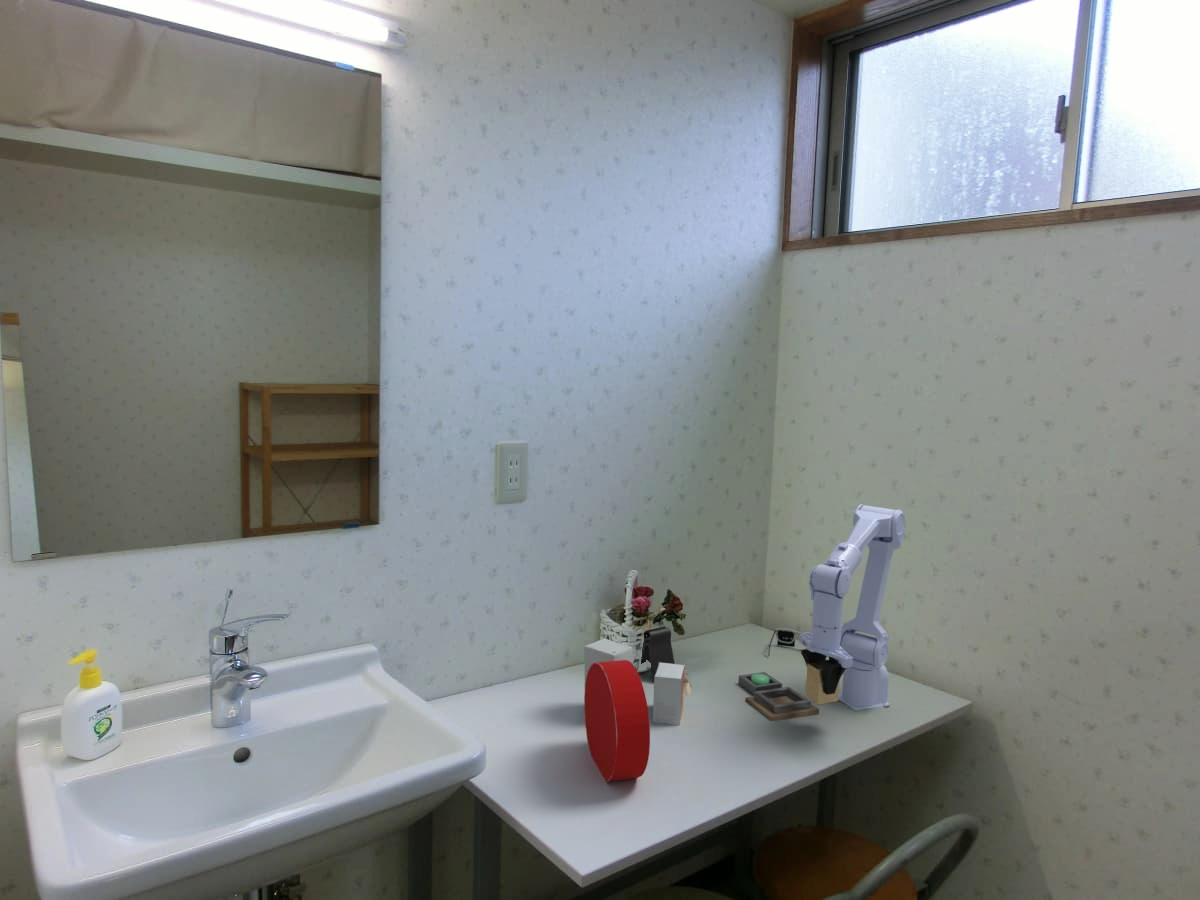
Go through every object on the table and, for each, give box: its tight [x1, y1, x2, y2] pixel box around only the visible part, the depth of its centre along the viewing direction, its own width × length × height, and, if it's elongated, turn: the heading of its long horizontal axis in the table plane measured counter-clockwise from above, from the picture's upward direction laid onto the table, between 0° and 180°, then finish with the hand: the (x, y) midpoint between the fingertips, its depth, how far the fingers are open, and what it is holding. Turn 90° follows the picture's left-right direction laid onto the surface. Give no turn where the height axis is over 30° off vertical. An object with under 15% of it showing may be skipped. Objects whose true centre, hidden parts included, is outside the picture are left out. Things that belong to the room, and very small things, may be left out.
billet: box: [804, 662, 840, 705], centre depth 157 cm, size 5×4×7 cm
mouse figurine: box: [683, 665, 693, 696], centre depth 173 cm, size 5×8×7 cm, turn 40°
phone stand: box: [641, 625, 676, 683], centre depth 180 cm, size 9×6×12 cm, turn 35°
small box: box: [652, 663, 686, 726], centre depth 159 cm, size 8×6×10 cm
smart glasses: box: [767, 627, 811, 657], centre depth 200 cm, size 12×14×5 cm
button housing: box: [737, 671, 783, 696], centre depth 176 cm, size 7×7×2 cm
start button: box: [751, 673, 769, 685], centre depth 176 cm, size 4×4×2 cm
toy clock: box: [583, 660, 651, 783], centre depth 137 cm, size 20×6×20 cm, turn 17°
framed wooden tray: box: [744, 686, 820, 722], centre depth 167 cm, size 12×10×2 cm
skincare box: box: [584, 638, 634, 684], centre depth 158 cm, size 8×7×16 cm
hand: (822, 688), depth 157 cm, fingers closed on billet, 4 cm apart
